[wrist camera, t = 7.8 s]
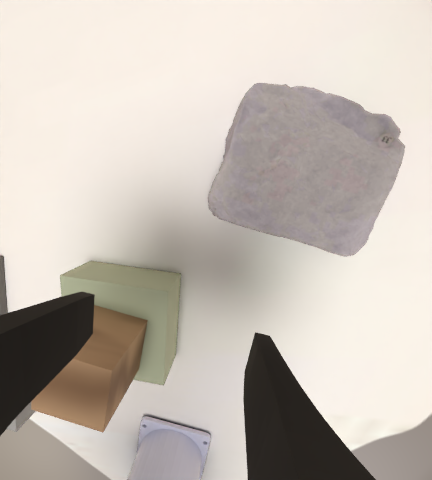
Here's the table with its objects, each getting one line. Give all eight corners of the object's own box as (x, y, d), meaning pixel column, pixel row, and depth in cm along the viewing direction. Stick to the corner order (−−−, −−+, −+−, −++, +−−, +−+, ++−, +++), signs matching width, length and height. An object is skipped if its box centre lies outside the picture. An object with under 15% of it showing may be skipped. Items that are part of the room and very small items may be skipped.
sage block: (176, 351, 23) (163, 385, 19) (96, 337, 24) (67, 367, 20) (181, 271, 21) (168, 291, 17) (92, 259, 21) (59, 275, 17)
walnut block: (138, 369, 19) (103, 432, 14) (84, 353, 19) (31, 409, 14) (147, 320, 17) (111, 370, 13) (89, 303, 18) (33, 346, 13)
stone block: (237, 102, 18) (204, 218, 19) (242, 56, 13) (199, 215, 14) (376, 140, 18) (339, 256, 18) (433, 107, 13) (380, 266, 14)
